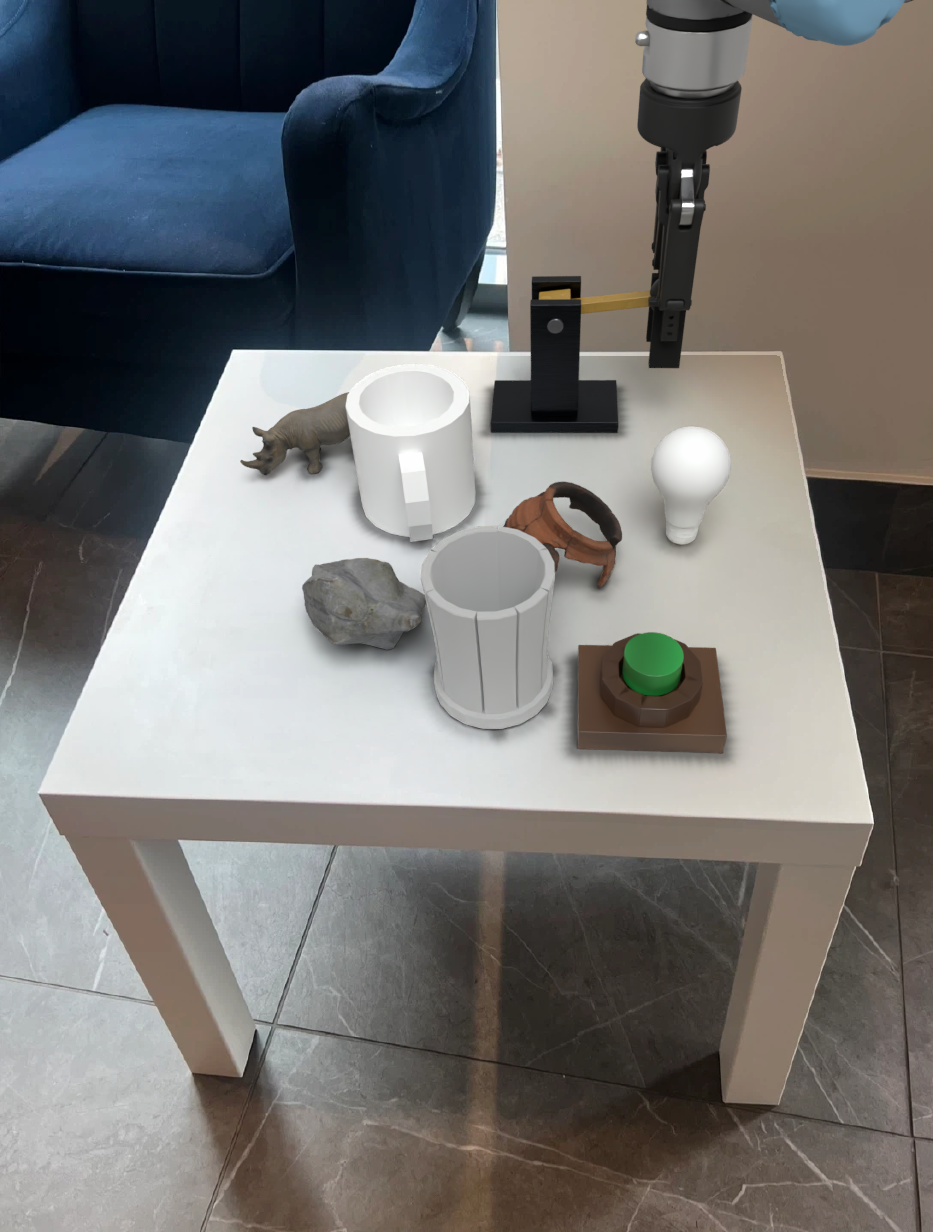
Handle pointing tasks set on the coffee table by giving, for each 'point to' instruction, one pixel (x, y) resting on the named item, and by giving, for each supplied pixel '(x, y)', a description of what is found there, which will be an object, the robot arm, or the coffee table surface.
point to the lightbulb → (689, 477)
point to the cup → (490, 624)
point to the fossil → (361, 602)
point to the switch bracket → (555, 373)
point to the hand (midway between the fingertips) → (662, 351)
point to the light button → (652, 664)
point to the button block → (649, 704)
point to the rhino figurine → (302, 435)
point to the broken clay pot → (554, 532)
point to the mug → (413, 449)
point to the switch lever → (607, 299)
